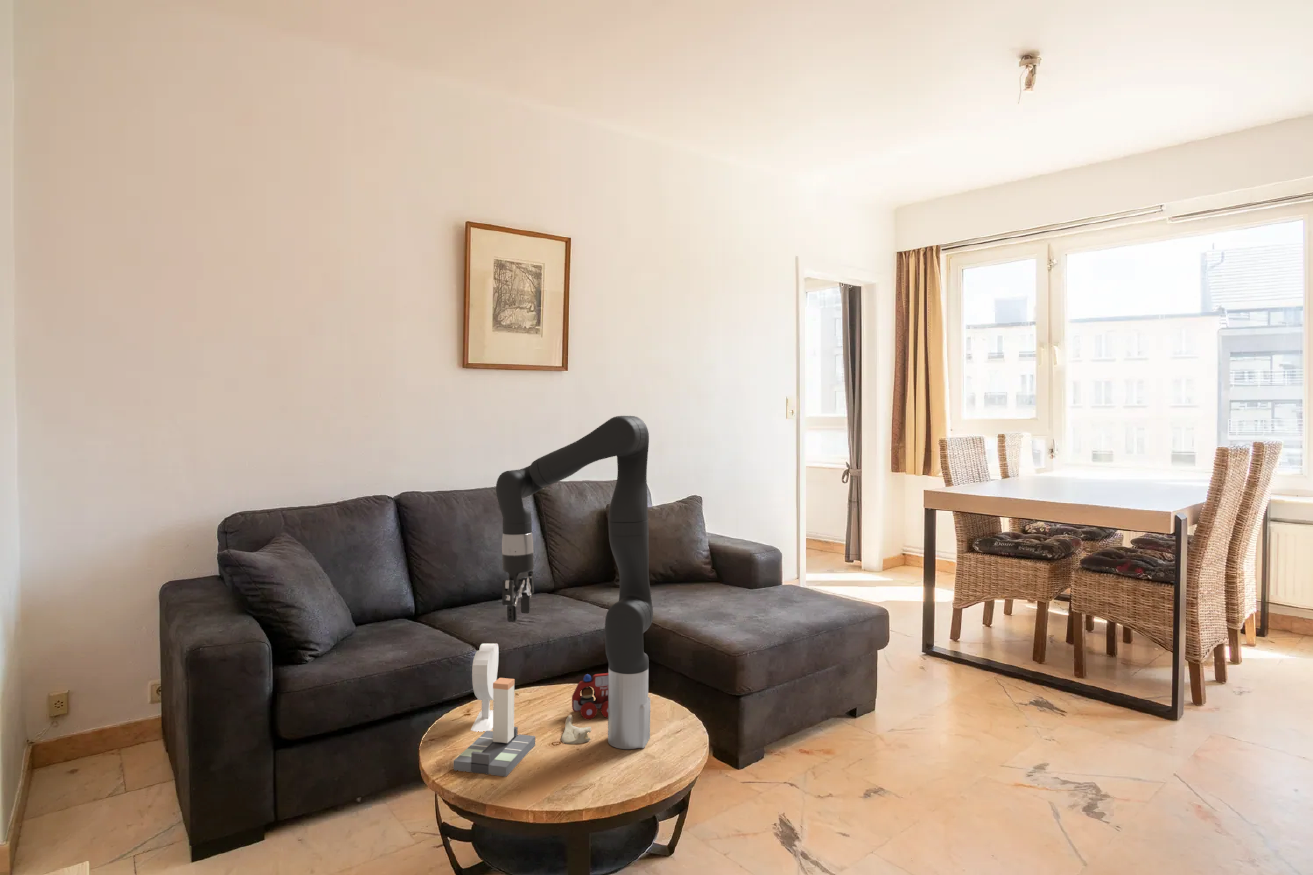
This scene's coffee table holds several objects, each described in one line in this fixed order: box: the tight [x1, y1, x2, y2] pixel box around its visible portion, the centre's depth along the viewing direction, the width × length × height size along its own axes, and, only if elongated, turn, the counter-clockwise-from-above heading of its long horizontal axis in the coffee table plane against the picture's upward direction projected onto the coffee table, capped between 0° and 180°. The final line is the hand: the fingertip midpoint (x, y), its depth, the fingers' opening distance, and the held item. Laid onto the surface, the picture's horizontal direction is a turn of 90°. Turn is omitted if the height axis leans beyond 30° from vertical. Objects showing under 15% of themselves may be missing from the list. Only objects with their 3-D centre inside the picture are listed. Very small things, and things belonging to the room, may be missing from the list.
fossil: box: [560, 714, 592, 745], centre depth 182 cm, size 7×11×4 cm, turn 3°
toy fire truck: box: [571, 672, 609, 720], centre depth 194 cm, size 7×12×10 cm, turn 104°
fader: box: [492, 677, 516, 743], centre depth 173 cm, size 4×4×13 cm
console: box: [452, 726, 536, 777], centre depth 169 cm, size 12×16×4 cm
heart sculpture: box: [470, 643, 500, 733], centre depth 189 cm, size 16×5×18 cm, turn 2°
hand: (519, 617), depth 189 cm, fingers open, 8 cm apart
